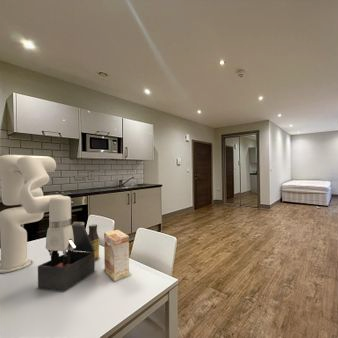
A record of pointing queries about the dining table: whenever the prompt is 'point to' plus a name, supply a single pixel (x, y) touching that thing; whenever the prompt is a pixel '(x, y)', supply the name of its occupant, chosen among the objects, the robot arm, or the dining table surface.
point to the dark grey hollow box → (66, 271)
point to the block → (62, 265)
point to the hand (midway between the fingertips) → (60, 263)
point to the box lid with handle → (81, 238)
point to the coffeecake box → (116, 254)
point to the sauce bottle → (94, 239)
